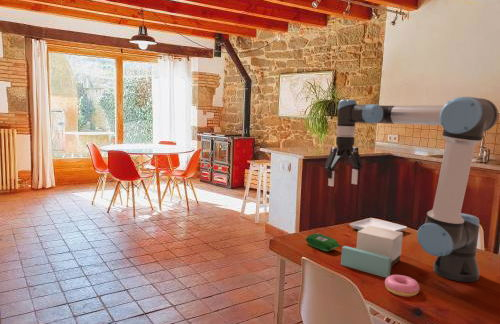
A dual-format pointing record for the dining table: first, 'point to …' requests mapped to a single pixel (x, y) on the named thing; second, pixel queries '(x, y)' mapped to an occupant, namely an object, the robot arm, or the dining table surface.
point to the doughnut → (402, 285)
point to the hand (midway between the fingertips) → (342, 185)
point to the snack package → (322, 242)
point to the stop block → (366, 261)
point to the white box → (380, 241)
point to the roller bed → (395, 261)
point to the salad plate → (377, 224)
